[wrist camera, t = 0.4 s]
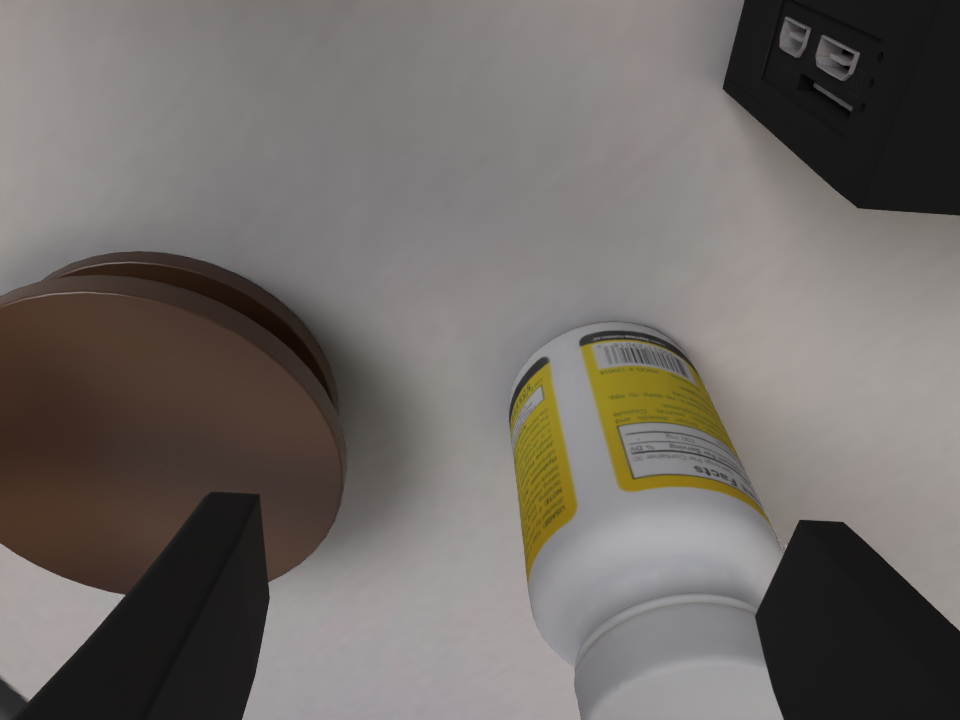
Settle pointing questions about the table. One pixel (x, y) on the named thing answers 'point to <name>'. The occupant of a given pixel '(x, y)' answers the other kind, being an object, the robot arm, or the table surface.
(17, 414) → the stand
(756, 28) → the digital camera
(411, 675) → the table surface
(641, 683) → the supplement bottle
